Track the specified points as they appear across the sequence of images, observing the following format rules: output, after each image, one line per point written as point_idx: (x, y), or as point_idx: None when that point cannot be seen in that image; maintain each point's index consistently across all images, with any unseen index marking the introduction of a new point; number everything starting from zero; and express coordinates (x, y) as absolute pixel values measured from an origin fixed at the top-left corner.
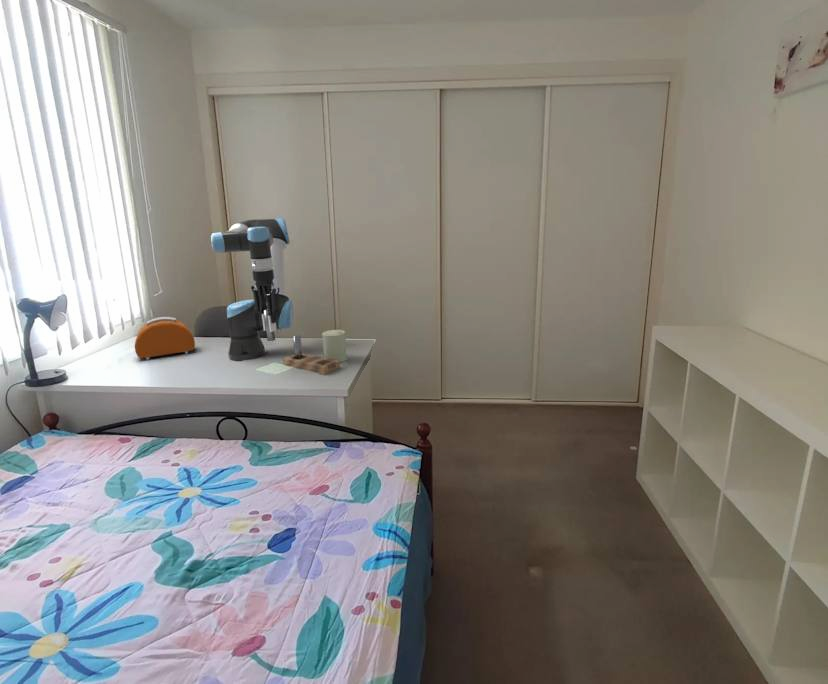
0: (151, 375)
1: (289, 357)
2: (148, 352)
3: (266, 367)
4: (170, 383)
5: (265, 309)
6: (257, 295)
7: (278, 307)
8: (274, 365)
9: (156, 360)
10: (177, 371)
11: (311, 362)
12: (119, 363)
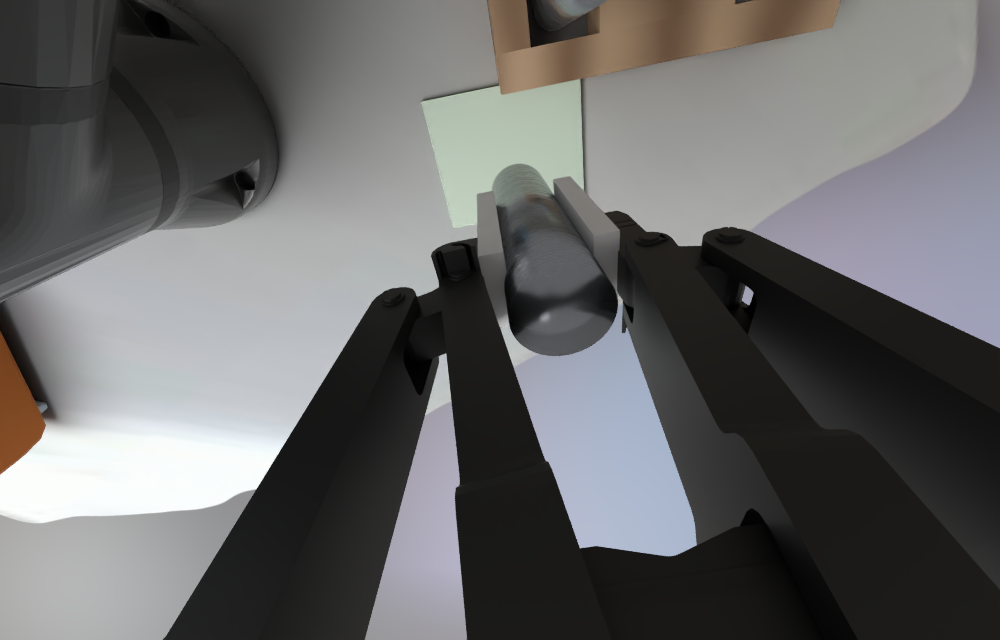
0: (257, 433)
1: (513, 45)
2: (22, 424)
3: (465, 176)
4: None
5: (519, 321)
6: (363, 554)
7: (802, 272)
8: (469, 131)
9: (69, 391)
10: (261, 387)
11: (709, 12)
12: (59, 454)
